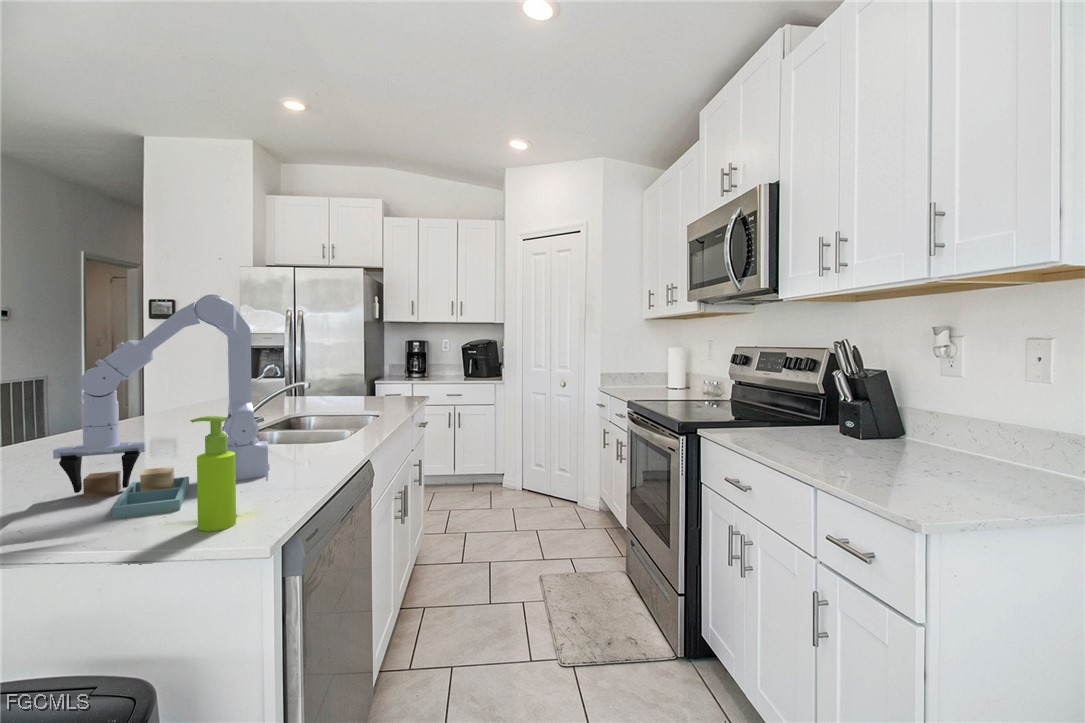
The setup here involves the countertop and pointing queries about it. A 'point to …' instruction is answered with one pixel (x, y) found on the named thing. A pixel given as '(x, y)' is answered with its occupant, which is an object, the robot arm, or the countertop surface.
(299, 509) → the countertop surface
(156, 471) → the oak twin block
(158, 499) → the caddy
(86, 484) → the walnut block
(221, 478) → the soap dispenser
